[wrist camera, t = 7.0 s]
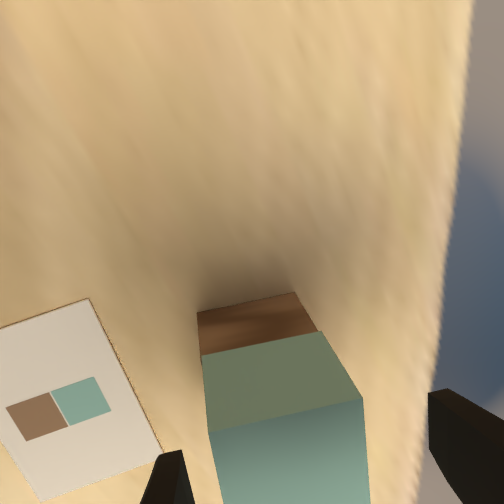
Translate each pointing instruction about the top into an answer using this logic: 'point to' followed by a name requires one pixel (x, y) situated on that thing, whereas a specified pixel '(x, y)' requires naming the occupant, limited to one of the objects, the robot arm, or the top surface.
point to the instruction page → (68, 403)
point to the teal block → (286, 424)
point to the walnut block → (252, 323)
